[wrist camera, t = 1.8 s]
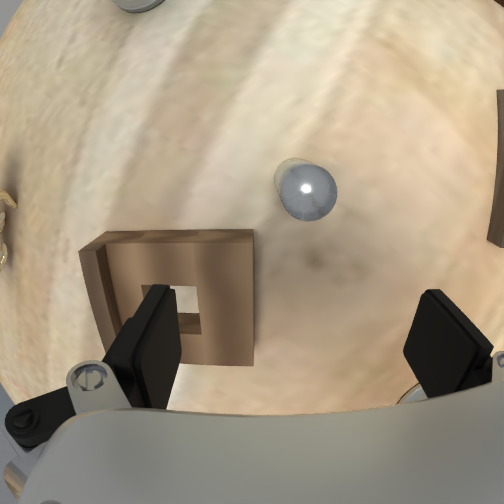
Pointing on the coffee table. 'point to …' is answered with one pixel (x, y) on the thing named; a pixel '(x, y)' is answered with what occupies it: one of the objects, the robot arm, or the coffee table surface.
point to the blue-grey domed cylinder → (305, 189)
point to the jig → (178, 274)
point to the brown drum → (500, 2)
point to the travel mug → (136, 5)
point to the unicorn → (2, 252)
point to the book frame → (498, 182)
